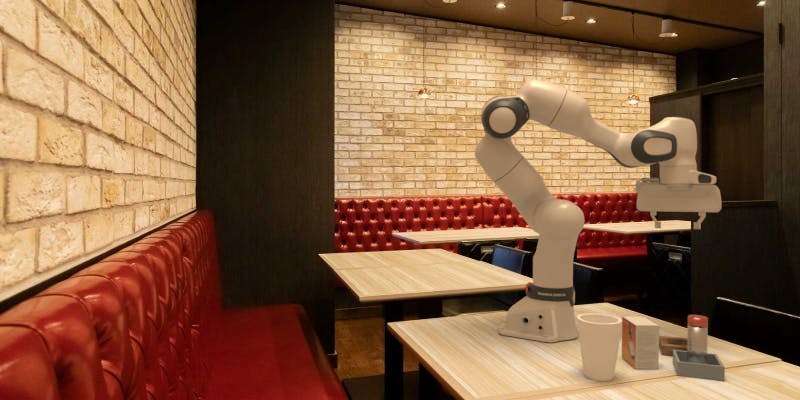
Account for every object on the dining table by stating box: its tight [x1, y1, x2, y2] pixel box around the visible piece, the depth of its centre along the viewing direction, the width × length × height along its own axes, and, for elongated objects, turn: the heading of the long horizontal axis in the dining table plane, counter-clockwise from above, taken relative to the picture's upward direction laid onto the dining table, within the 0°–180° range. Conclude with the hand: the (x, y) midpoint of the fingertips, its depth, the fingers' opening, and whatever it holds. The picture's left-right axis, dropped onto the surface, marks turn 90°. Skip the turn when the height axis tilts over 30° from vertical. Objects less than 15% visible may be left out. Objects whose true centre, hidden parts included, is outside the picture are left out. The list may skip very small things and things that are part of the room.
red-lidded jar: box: [687, 314, 709, 364], centre depth 120 cm, size 4×4×12 cm
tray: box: [671, 350, 726, 382], centre depth 120 cm, size 9×9×3 cm
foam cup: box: [576, 312, 622, 382], centre depth 117 cm, size 10×9×13 cm
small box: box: [621, 316, 660, 370], centre depth 125 cm, size 8×6×10 cm
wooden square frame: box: [659, 335, 688, 357], centre depth 133 cm, size 9×9×2 cm
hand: (677, 228), depth 141 cm, fingers open, 8 cm apart
